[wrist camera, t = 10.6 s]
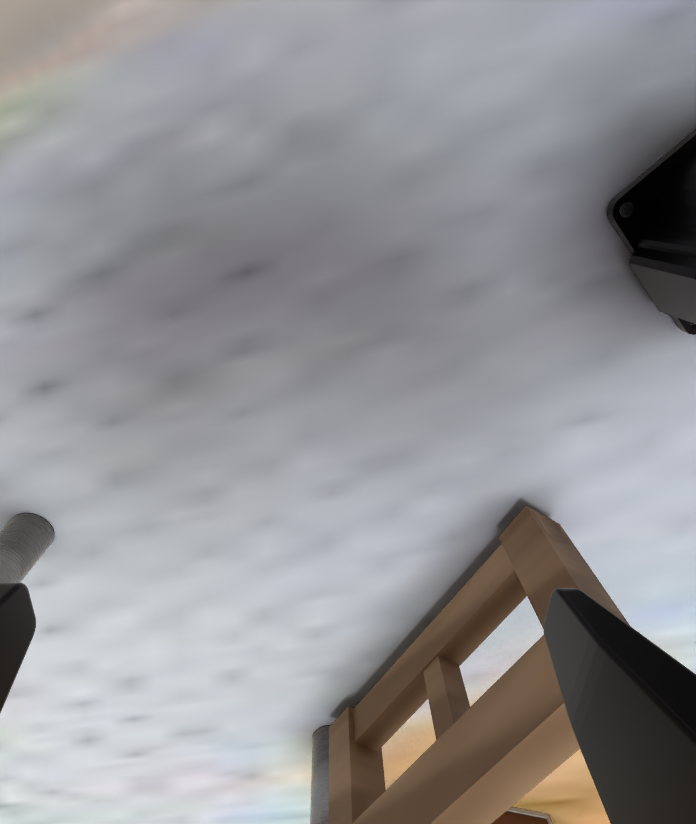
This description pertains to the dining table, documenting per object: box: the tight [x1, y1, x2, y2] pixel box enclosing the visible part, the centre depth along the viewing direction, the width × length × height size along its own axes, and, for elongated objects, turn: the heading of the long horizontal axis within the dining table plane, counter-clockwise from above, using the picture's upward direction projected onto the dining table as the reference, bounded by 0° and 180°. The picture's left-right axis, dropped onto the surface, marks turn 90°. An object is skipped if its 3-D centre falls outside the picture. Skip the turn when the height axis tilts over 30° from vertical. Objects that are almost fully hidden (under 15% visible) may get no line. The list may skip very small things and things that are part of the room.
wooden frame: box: [329, 505, 630, 824], centre depth 22 cm, size 2×17×8 cm, turn 148°
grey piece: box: [0, 513, 331, 824], centre depth 23 cm, size 2×22×8 cm, turn 42°
